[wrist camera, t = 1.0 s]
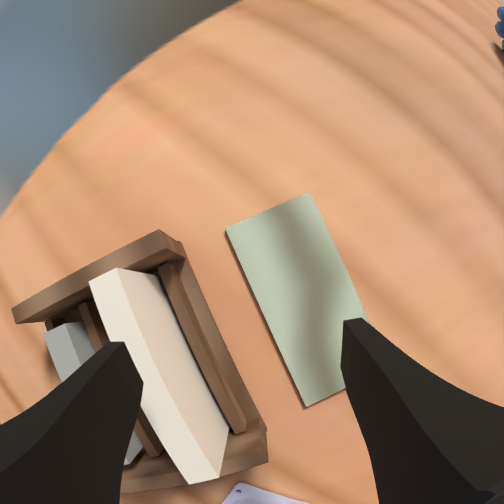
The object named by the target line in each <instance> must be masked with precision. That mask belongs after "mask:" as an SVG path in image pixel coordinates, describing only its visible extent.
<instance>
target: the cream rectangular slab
mask: <svg viewBox="0 0 504 504" xmlns="http://www.w3.org/2000/svg"><path fill="white" fill-rule="evenodd" d="M89 285H90V288H91V291H92V294H93V297H94V300H95V302H96V305H97V308H98V311H99V314H100V316H101V319H102V322H103V324H104V327H105V329H106V332H107V334H108V337H109V339H110V342H120V341H124V342H125V344H126V347H127V349H128V351H129V353H130V355H131V358H132V360H133V362H134V364H135V366H136V368H137V370H138V372H139V374H140V376H141V378H142V380H143V382H144V385H143V392H142V399H141V405H140V406H141V407H142V409H143V411H144V413H145V415H146V417H147V419H148V420H149V422H150V424H151V426H152V427H153V429H154V431H155V433H156V434H157V436H158V438H159V439H160V441H161V443H162V444H163V446H164V448H165V449H166V451H167V452H168V454H169V456H170V457H171V459H172V460H173V462H174V463H175V465H176V466H177V468H178V469H179V471H180V472H181V474H182V475H183V477H184V478H185V480H186V481H187V482H188V484H194V483H199V482H203V481H208V480H212V479H216V478H219V475H220V471H221V466H222V461H223V456H224V451H225V446H226V441H227V436H228V431H229V427H230V424H229V422H228V420H227V418H226V416H225V415H224V413H223V411H222V409H221V407H220V405H219V403H218V401H217V399H216V398H215V396H214V394H213V392H212V390H211V388H210V386H209V384H208V382H207V380H206V378H205V376H204V374H203V372H202V370H201V368H200V366H199V363H198V361H197V359H196V357H195V355H194V353H193V351H192V349H191V346H190V344H189V342H188V340H187V338H186V335H185V333H184V331H183V329H182V327H181V324H180V322H179V320H178V317H177V315H176V313H175V310H174V308H173V306H172V303H171V301H170V298H169V296H168V294H167V291H166V289H165V286H164V284H163V281H162V279H161V276H157V275H151V274H146V273H141V272H136V271H131V270H126V269H121V268H114V269H112V270H110V271H108V272H106V273H104V274H102V275H100V276H98V277H96V278H94V279H92V280H91V281H89Z"/></svg>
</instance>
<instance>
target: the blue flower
mask: <svg viewBox="0 0 504 504" xmlns="http://www.w3.org/2000/svg"><path fill="white" fill-rule="evenodd" d="M497 15H498V17H499V19H500V20H501V21H499V22H497V23H496V25H495V29H496V32H497V34H498V35H499V36H500V37H502V38H504V7H499V8H498V10H497ZM502 48H503V50H504V40H503V41H502Z"/></svg>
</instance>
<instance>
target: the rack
mask: <svg viewBox="0 0 504 504" xmlns="http://www.w3.org/2000/svg"><path fill="white" fill-rule="evenodd" d="M225 229H226V232H227V234H228V236H229V238H230V241H231V243H232V245H233V248H234V250H235V252H236V254H237V257H238V259H239V261H240V263H241V266H242V268H243V270H244V272H245V275H246V277H247V279H248V281H249V283H250V286H251V288H252V290H253V292H254V295H255V297H256V299H257V301H258V303H259V306H260V308H261V310H262V312H263V315H264V317H265V319H266V321H267V323H268V326H269V328H270V330H271V332H272V334H273V337H274V339H275V341H276V343H277V345H278V347H279V350H280V352H281V354H282V356H283V358H284V360H285V363H286V365H287V367H288V369H289V371H290V373H291V376H292V378H293V380H294V382H295V384H296V386H297V388H298V391H299V393H300V395H301V397H302V399H303V401H304V403H305V406H306V407H307V406H310V405H312V404H314V403H316V402H318V401H320V400H323V399H325V398H327V397H329V396H331V395H333V394H335V393H337V392H339V391H341V390H343V389H345V384H344V380H343V375H342V371H341V367H340V364H341V350H342V335H343V320H349V319H355V318H360V317H362V318H363V319H364V320H365V321H367V322H368V319H367V317H366V314H365V312H364V309H363V307H362V305H361V302H360V300H359V297H358V295H357V293H356V290H355V288H354V286H353V283H352V281H351V279H350V277H349V274H348V272H347V270H346V268H345V265H344V263H343V261H342V259H341V257H340V255H339V252H338V250H337V248H336V246H335V244H334V242H333V240H332V237H331V235H330V233H329V231H328V229H327V227H326V225H325V223H324V221H323V219H322V217H321V215H320V213H319V211H318V209H317V207H316V205H315V203H314V201H313V199H312V197H311V195H310V193H306V194H304V195H301V196H299V197H297V198H294V199H292V200H289V201H287V202H285V203H282V204H280V205H278V206H275V207H273V208H271V209H268V210H266V211H264V212H261V213H259V214H257V215H254V216H252V217H250V218H247V219H245V220H243V221H241V222H238V223H236V224H234V225H232V226H229V227H227V228H225ZM114 268H121V269H126V270H131V271H136V272H141V273H146V274H151V275H157V276H161V279H162V281H163V284H164V286H165V289H166V291H167V294H168V296H169V298H170V301H171V303H172V306H173V308H174V310H175V313H176V315H177V317H178V320H179V322H180V324H181V327H182V329H183V331H184V333H185V335H186V338H187V340H188V342H189V344H190V346H191V349H192V351H193V353H194V355H195V357H196V359H197V361H198V363H199V366H200V368H201V370H202V372H203V374H204V376H205V378H206V380H207V382H208V384H209V386H210V388H211V390H212V392H213V394H214V396H215V398H216V399H217V401H218V403H219V405H220V407H221V409H222V411H223V413H224V415H225V416H226V418H227V420H228V422H229V424H230V427H229V431H228V436H227V441H226V446H225V451H224V456H223V461H222V466H221V471H220V475H219V477H221V476H225V475H229V474H232V473H236V472H239V471H243V470H246V469H249V468H252V467H255V466H259V465H262V464H264V463H267V462H268V452H267V438H266V432H267V427H266V425H265V423H264V421H263V420H262V418H261V416H260V414H259V412H258V410H257V408H256V406H255V404H254V402H253V400H252V398H251V396H250V394H249V392H248V390H247V388H246V386H245V384H244V382H243V380H242V378H241V376H240V374H239V372H238V370H237V368H236V366H235V364H234V362H233V359H232V357H231V355H230V353H229V351H228V349H227V347H226V345H225V342H224V340H223V338H222V336H221V334H220V332H219V329H218V327H217V325H216V323H215V321H214V318H213V316H212V314H211V312H210V309H209V307H208V305H207V303H206V300H205V298H204V296H203V293H202V291H201V289H200V286H199V284H198V282H197V279H196V277H195V275H194V272H193V270H192V267H191V265H190V263H189V260H188V258H187V255H186V253H185V250H184V248H183V245H182V243H181V242H180V241H176V240H174V239H173V238H171V237H170V236H168V235H167V234H165V233H164V232H162V231H161V230H159V229H158V230H156V231H154V232H152V233H150V234H148V235H146V236H144V237H142V238H140V239H138V240H136V241H134V242H132V243H130V244H128V245H126V246H124V247H122V248H120V249H118V250H116V251H114V252H112V253H110V254H108V255H106V256H104V257H102V258H100V259H99V260H97V261H95V262H93V263H91V264H89V265H87V266H85V267H83V268H82V269H80V270H78V271H76V272H74V273H72V274H71V275H69V276H67V277H65V278H63V279H62V280H60V281H58V282H56V283H54V284H53V285H51V286H49V287H47V288H46V289H44V290H42V291H40V292H39V293H37V294H35V295H33V296H32V297H30V298H28V299H27V300H25V301H23V302H22V303H20V304H18V305H17V306H15V307H13V308H12V312H13V316H14V320H15V323H16V324H22V323H34V322H44V321H46V322H44V323H45V326H46V329H47V331H50V330H52V329H54V328H56V327H59V326H61V325H63V324H65V323H72V322H80V321H84V324H85V327H86V329H87V332H88V335H89V337H90V340H91V342H92V345H93V347H94V350H95V352H97V351H98V350H99V349H101V348H102V347H103V346H104V345H106V344H107V343H108V342H110V339H109V337H108V334H107V332H106V329H105V327H104V324H103V322H102V319H101V316H100V314H99V311H98V308H97V305H96V302H95V300H94V297H93V294H92V291H91V288H90V285H89V281H91V280H92V279H94V278H96V277H98V276H100V275H102V274H104V273H106V272H108V271H110V270H112V269H114ZM368 323H369V322H368ZM134 431H135V433H136V434H137V436H138V438H139V439H140V441H141V443H142V444H143V447H142V449H141V450H140V451H139V453H138V454H137V455H136V456H135V458H134V459H133V460H132V462H131V463H130V464H126V465H124V466H123V472H122V480H121V488H120V494H123V493H134V492H143V491H151V490H158V489H164V488H170V487H176V486H181V485H187V484H188V482H187V481H186V480H185V478H184V477H183V475H182V474H181V472H180V471H179V469H178V468H177V466H176V465H175V463H174V462H173V460H172V459H171V457H170V456H169V454H168V452H167V451H166V449H165V448H164V446H163V444H162V443H161V441H160V439H159V438H158V436H157V434H156V433H155V431H154V429H153V427H152V426H151V424H150V422H149V420H148V419H147V417H146V415H145V413H144V411H143V409H142V407H141V406H140V409H139V413H138V416H137V420H136V423H135V426H134Z"/></svg>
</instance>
